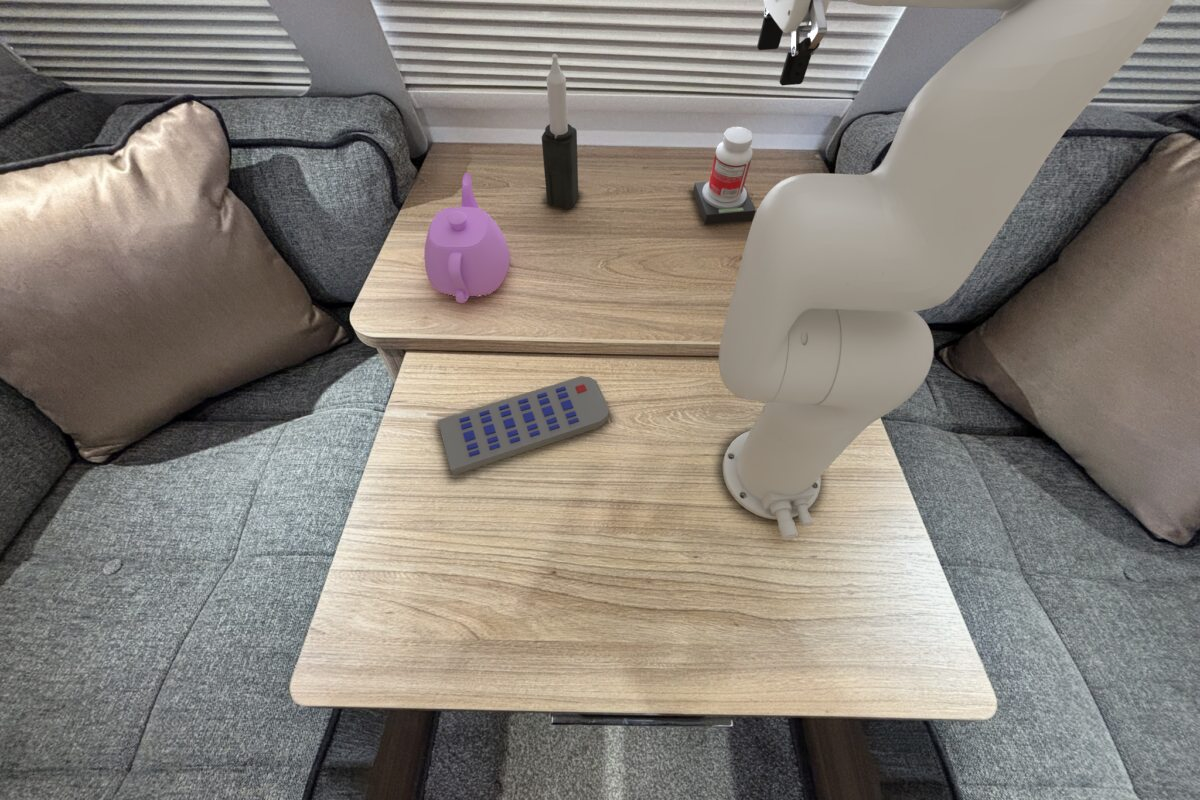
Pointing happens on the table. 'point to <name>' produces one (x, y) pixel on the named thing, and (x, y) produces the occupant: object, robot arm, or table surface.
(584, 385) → the remote control
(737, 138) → the pill bottle
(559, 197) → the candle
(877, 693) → the table surface
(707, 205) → the scale
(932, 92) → the robot arm
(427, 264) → the teapot
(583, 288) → the table surface
